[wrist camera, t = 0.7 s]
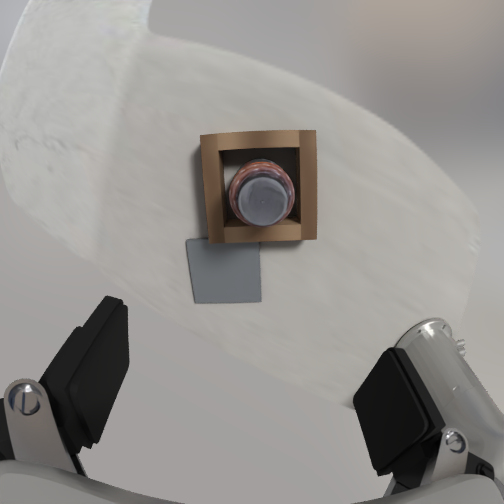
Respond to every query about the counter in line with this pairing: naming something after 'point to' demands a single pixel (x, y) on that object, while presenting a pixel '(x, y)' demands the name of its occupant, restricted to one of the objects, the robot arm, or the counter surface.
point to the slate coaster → (224, 271)
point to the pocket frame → (305, 186)
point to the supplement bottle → (261, 193)
